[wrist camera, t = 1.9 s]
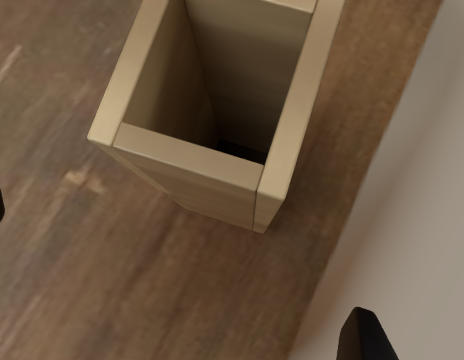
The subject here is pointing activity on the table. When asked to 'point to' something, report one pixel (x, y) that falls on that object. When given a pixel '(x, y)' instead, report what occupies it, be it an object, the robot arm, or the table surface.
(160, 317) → the table surface
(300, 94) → the square pencil holder
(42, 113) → the table surface
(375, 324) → the robot arm
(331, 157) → the table surface
